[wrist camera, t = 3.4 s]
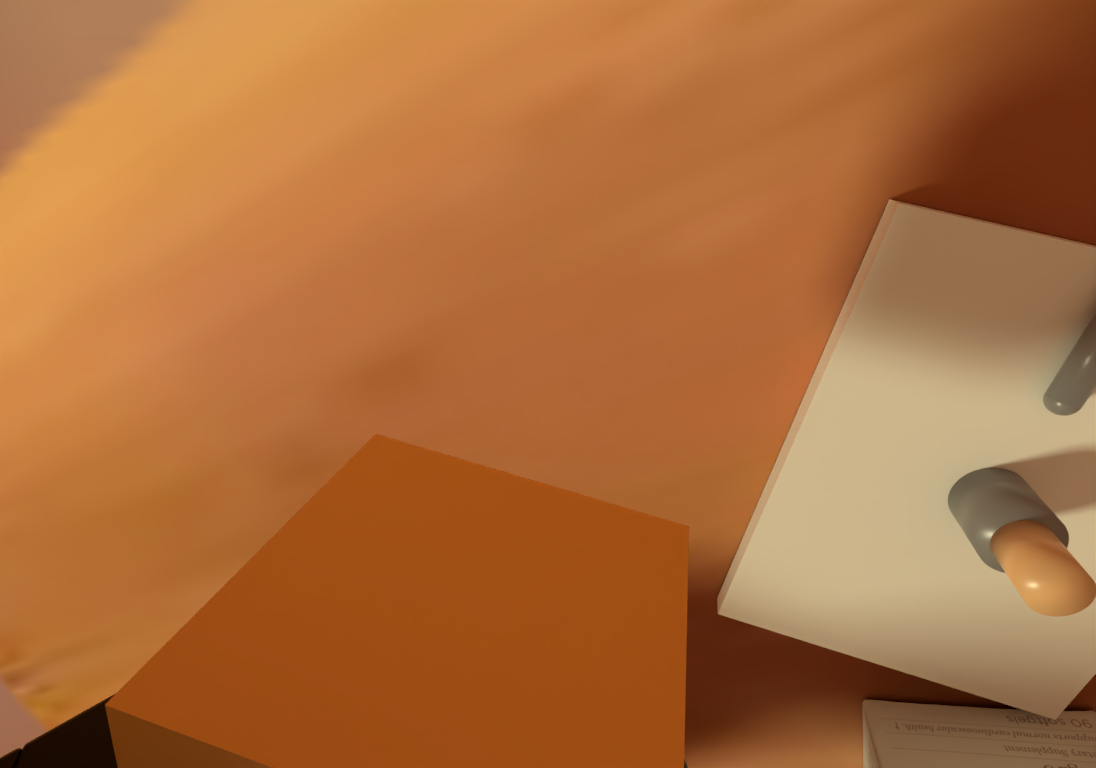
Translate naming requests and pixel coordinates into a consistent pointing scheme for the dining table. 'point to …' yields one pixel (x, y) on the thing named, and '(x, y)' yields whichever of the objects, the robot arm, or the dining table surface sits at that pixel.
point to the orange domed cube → (429, 633)
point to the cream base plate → (943, 468)
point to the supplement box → (974, 737)
